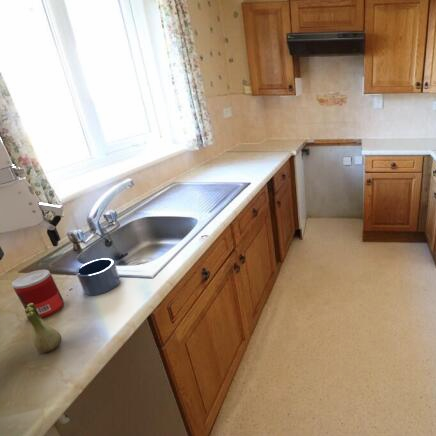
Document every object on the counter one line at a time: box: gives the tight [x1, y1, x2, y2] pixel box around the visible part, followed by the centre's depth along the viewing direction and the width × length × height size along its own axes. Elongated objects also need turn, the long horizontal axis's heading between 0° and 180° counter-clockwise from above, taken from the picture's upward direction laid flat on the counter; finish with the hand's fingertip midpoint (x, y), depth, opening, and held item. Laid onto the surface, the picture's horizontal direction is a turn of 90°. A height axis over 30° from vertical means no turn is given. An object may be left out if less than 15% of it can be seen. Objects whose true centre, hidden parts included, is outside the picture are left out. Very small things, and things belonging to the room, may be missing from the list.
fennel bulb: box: [24, 303, 62, 354], centre depth 76 cm, size 6×5×12 cm
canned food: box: [11, 269, 65, 319], centre depth 89 cm, size 8×8×11 cm
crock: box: [75, 257, 121, 296], centre depth 99 cm, size 10×10×7 cm
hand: (29, 250), depth 72 cm, fingers open, 9 cm apart
